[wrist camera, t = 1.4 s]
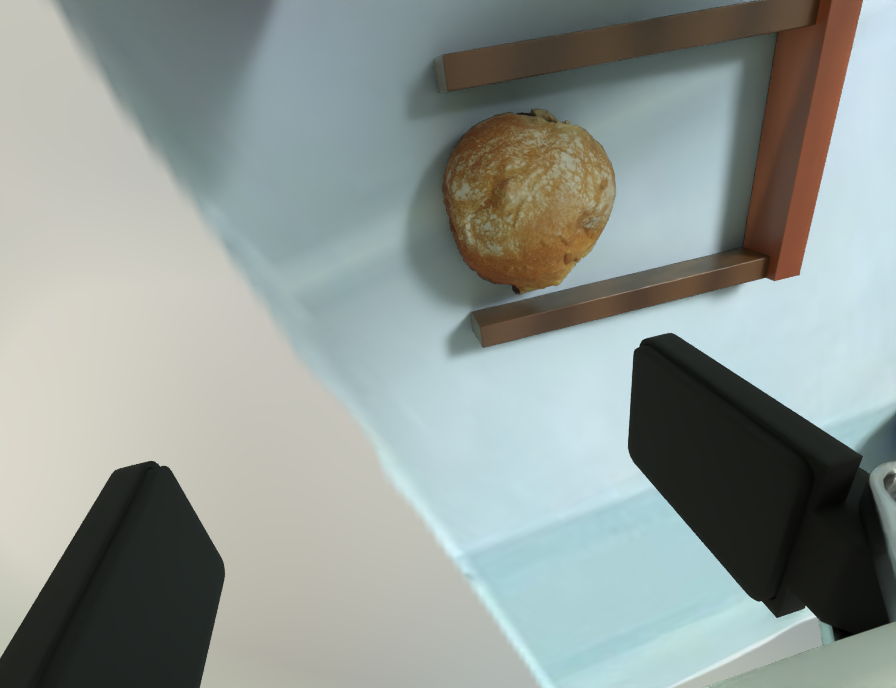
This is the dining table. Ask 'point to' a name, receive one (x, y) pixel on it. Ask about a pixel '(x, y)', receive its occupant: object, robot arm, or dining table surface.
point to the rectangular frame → (778, 164)
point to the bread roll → (527, 198)
